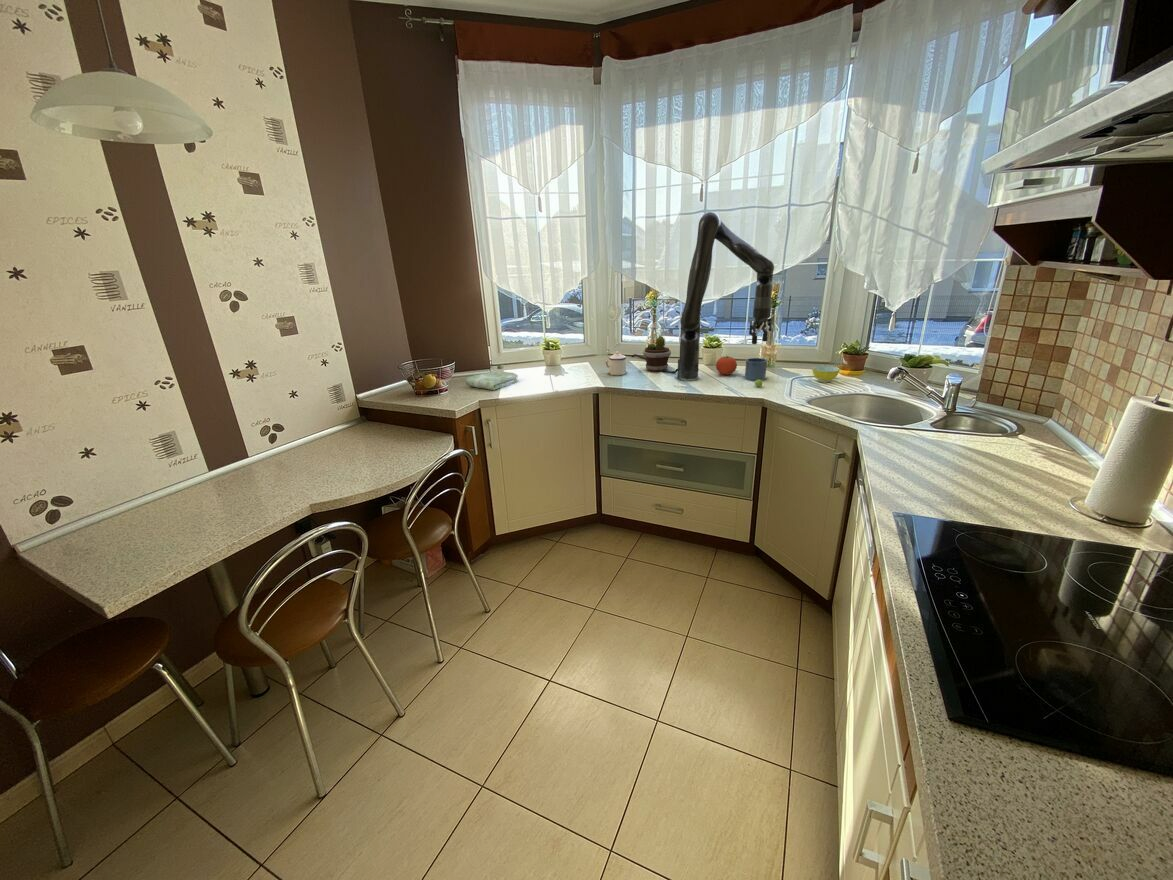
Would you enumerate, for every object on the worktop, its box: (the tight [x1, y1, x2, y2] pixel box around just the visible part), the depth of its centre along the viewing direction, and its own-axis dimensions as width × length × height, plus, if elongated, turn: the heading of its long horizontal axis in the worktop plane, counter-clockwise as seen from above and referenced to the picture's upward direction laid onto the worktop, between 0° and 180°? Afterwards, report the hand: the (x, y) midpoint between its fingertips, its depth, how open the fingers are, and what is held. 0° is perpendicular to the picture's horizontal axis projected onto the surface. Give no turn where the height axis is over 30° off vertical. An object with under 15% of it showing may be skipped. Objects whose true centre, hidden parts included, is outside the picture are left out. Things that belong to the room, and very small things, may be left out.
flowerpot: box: [642, 334, 672, 373], centre depth 254 cm, size 14×15×20 cm
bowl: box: [812, 365, 841, 383], centre depth 220 cm, size 11×12×6 cm
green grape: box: [754, 380, 764, 388], centre depth 217 cm, size 3×3×3 cm
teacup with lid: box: [605, 351, 627, 376], centre depth 253 cm, size 12×9×12 cm
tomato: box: [715, 355, 738, 376], centre depth 240 cm, size 10×10×10 cm
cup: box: [744, 357, 768, 382], centre depth 231 cm, size 9×9×9 cm
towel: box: [465, 370, 519, 391], centre depth 244 cm, size 18×21×5 cm
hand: (759, 342), depth 221 cm, fingers open, 8 cm apart
